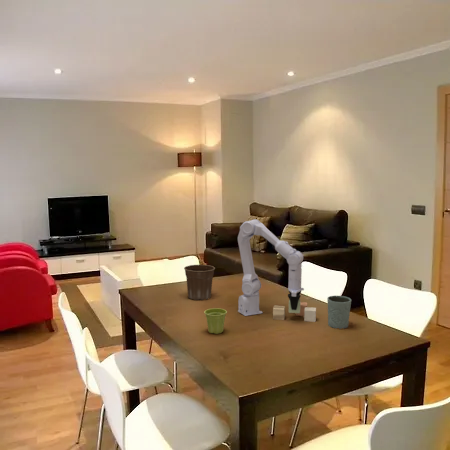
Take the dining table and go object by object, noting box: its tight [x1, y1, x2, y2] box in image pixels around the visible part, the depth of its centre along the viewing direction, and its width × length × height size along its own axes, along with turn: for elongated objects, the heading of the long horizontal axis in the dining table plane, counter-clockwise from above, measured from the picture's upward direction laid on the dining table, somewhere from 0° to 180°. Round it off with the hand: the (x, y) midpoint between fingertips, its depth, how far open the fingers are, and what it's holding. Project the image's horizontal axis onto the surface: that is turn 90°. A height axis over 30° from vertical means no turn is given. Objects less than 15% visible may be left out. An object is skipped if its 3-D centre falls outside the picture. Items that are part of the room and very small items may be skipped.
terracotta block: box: [295, 301, 308, 317], centre depth 216 cm, size 5×5×5 cm
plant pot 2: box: [203, 307, 228, 335], centre depth 193 cm, size 9×9×9 cm
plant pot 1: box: [184, 264, 216, 301], centre depth 244 cm, size 16×16×16 cm
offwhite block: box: [303, 306, 317, 323], centre depth 208 cm, size 5×5×5 cm
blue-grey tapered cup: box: [326, 295, 352, 330], centre depth 199 cm, size 10×10×12 cm
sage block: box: [288, 298, 301, 314], centre depth 209 cm, size 5×5×5 cm
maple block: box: [272, 305, 286, 321], centre depth 211 cm, size 5×5×5 cm
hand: (294, 307), depth 209 cm, fingers closed on sage block, 5 cm apart
